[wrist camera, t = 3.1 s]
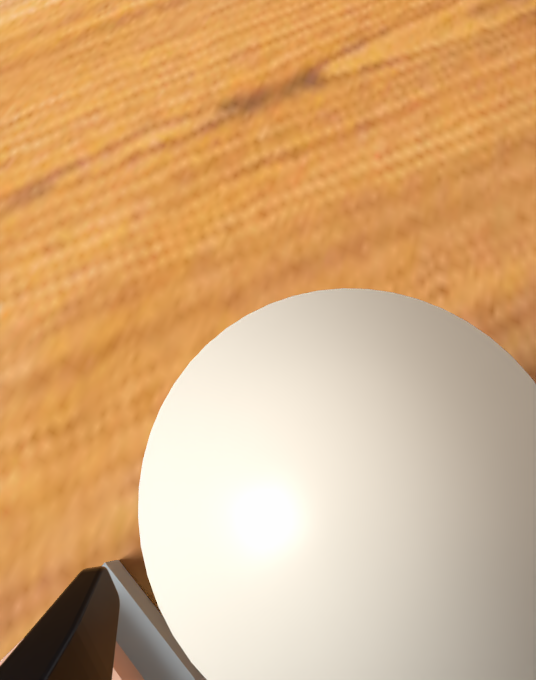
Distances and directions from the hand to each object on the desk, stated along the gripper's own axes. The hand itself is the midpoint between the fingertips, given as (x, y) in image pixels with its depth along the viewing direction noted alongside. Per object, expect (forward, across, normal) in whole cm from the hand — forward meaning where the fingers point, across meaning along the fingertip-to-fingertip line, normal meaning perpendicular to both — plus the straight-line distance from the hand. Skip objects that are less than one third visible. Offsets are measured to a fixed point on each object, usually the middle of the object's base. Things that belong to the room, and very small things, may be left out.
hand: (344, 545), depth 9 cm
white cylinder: (+7, 0, +6) cm, 9 cm away
